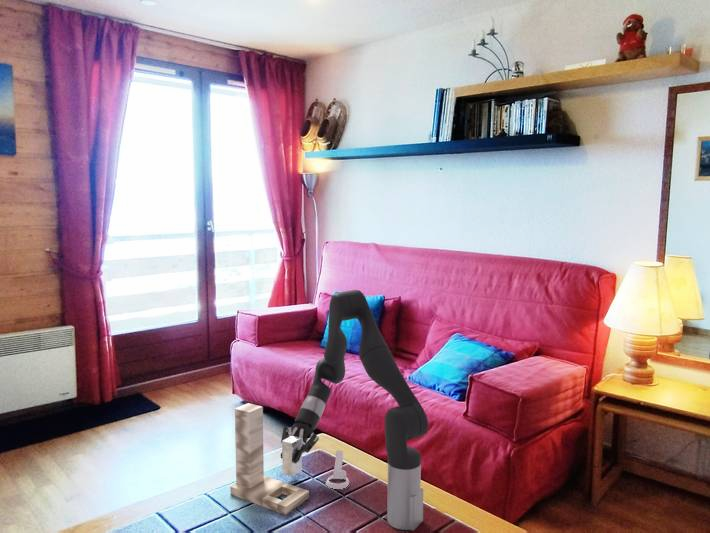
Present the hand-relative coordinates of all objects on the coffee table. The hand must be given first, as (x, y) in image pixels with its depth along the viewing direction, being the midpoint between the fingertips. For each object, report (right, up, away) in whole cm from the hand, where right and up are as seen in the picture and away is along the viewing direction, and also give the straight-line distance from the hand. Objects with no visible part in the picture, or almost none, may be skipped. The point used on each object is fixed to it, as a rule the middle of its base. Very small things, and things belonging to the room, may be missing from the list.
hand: (288, 460), depth 178 cm
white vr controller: (+16, -8, 0) cm, 18 cm away
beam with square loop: (-5, -8, -8) cm, 13 cm away
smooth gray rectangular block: (+1, -5, +2) cm, 5 cm away
